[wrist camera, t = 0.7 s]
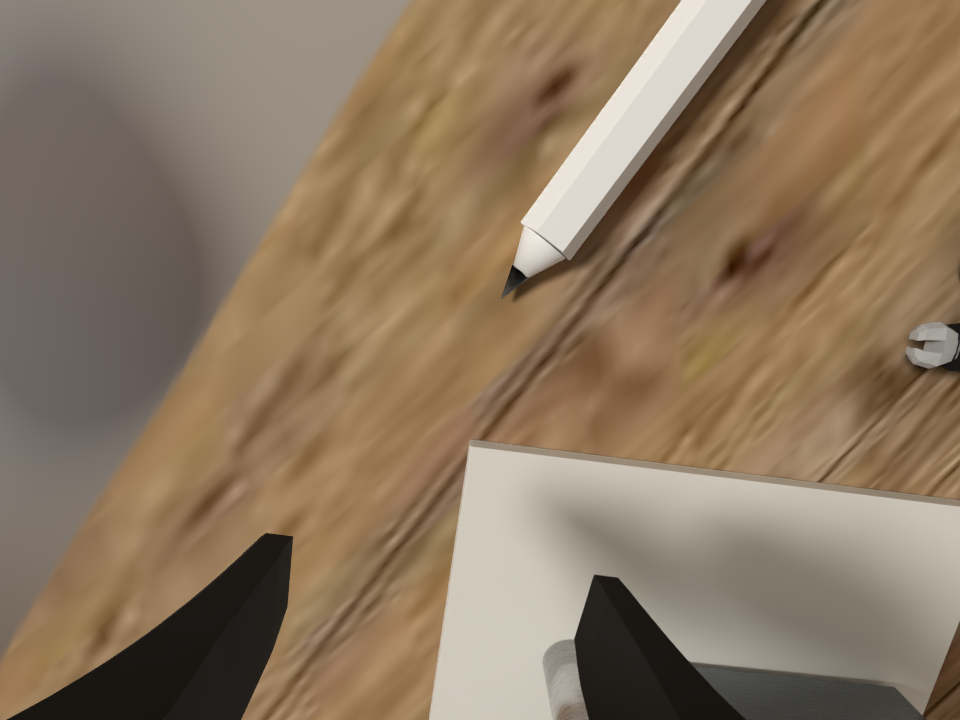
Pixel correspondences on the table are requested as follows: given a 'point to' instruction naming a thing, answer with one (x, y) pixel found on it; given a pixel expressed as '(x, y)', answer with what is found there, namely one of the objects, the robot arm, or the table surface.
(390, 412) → the table surface
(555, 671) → the gate post
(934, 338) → the robot toy
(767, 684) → the gate
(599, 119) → the marker
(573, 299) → the table surface
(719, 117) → the table surface
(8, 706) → the table surface
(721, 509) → the gate board
